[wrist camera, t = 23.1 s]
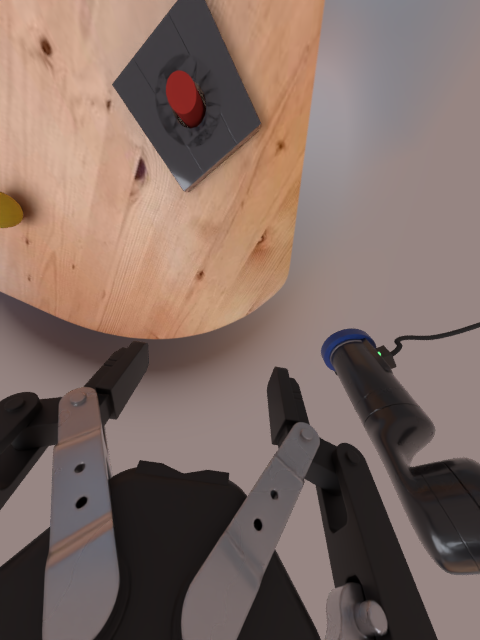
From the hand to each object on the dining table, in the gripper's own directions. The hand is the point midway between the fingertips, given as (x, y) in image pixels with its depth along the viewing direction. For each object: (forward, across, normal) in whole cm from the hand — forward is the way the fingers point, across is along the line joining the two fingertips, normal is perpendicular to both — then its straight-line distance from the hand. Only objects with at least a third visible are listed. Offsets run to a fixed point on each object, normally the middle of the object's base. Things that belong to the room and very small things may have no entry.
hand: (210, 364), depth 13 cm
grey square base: (+30, +10, -18) cm, 37 cm away
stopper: (+30, +10, -18) cm, 37 cm away
